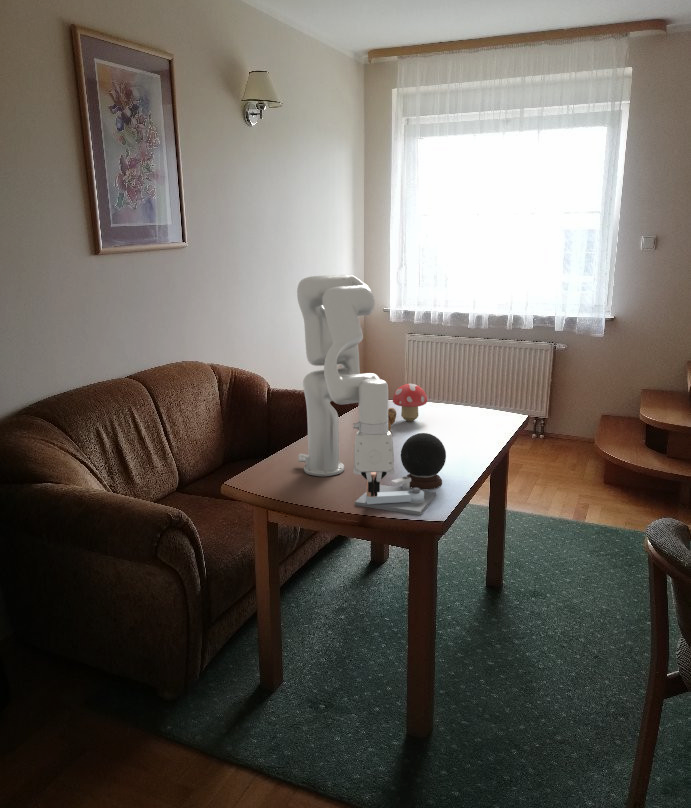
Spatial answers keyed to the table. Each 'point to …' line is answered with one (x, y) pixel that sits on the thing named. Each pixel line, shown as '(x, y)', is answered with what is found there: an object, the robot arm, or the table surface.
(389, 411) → the lion figurine
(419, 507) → the pintle board
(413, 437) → the black stone ball
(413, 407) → the decorative mushroom
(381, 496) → the white lever handle
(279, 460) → the table surface
